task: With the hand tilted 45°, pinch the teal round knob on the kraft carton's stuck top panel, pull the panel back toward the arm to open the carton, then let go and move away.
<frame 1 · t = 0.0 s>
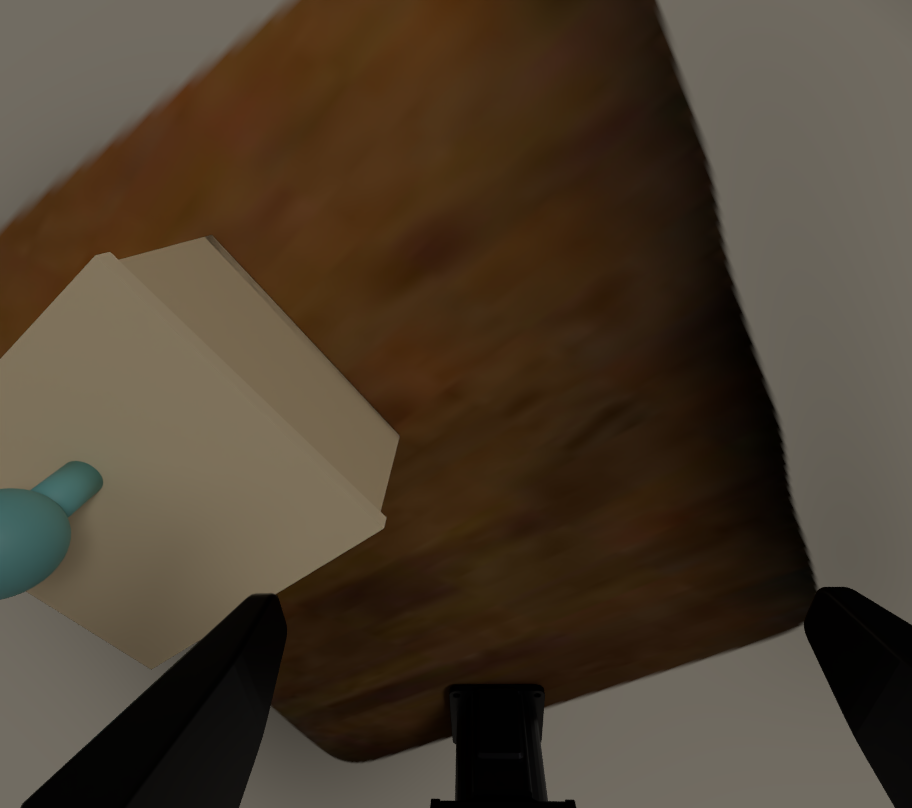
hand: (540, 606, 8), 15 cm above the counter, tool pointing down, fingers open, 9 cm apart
carton lid: (88, 555, 16), point 9 cm above the counter, slide at 0.0 cm
carton: (215, 424, 24), on the counter
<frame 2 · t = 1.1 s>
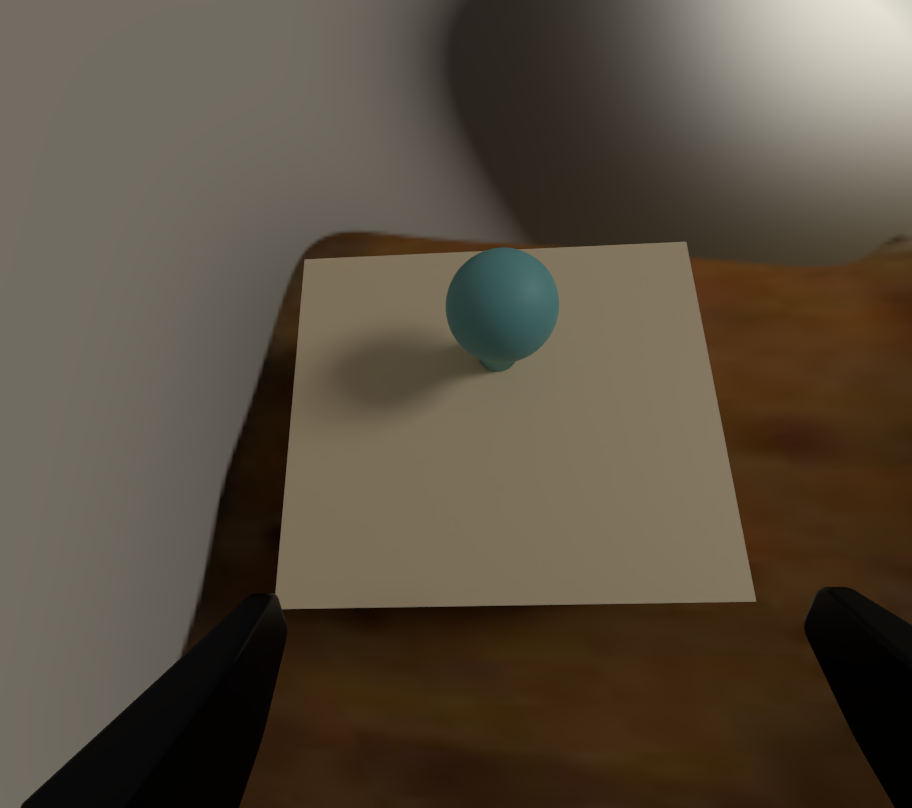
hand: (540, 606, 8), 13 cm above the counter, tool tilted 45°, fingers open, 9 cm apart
carton lid: (503, 386, 14), point 9 cm above the counter, slide at 0.0 cm
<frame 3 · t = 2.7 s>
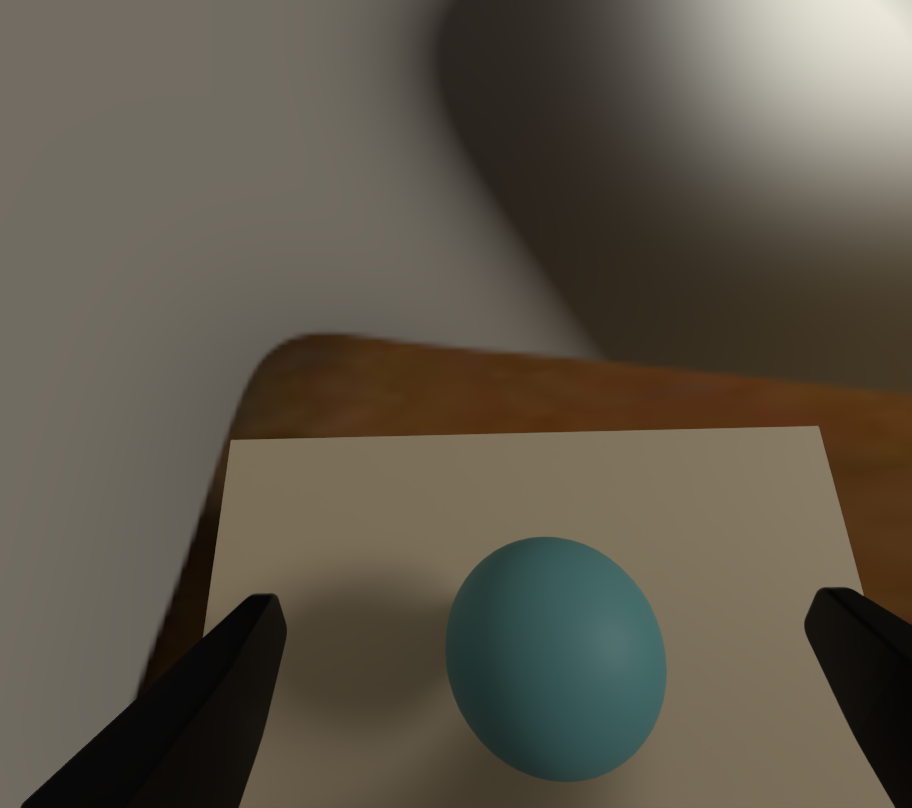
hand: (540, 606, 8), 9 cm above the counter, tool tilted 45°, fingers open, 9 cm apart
carton lid: (549, 772, 8), point 9 cm above the counter, slide at 0.0 cm
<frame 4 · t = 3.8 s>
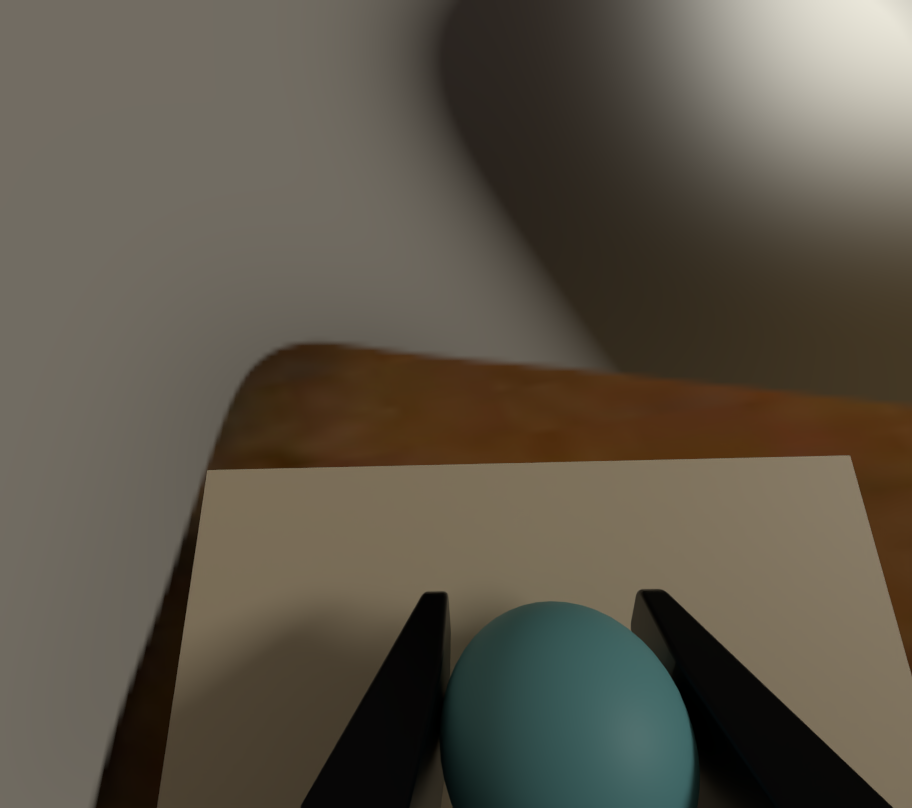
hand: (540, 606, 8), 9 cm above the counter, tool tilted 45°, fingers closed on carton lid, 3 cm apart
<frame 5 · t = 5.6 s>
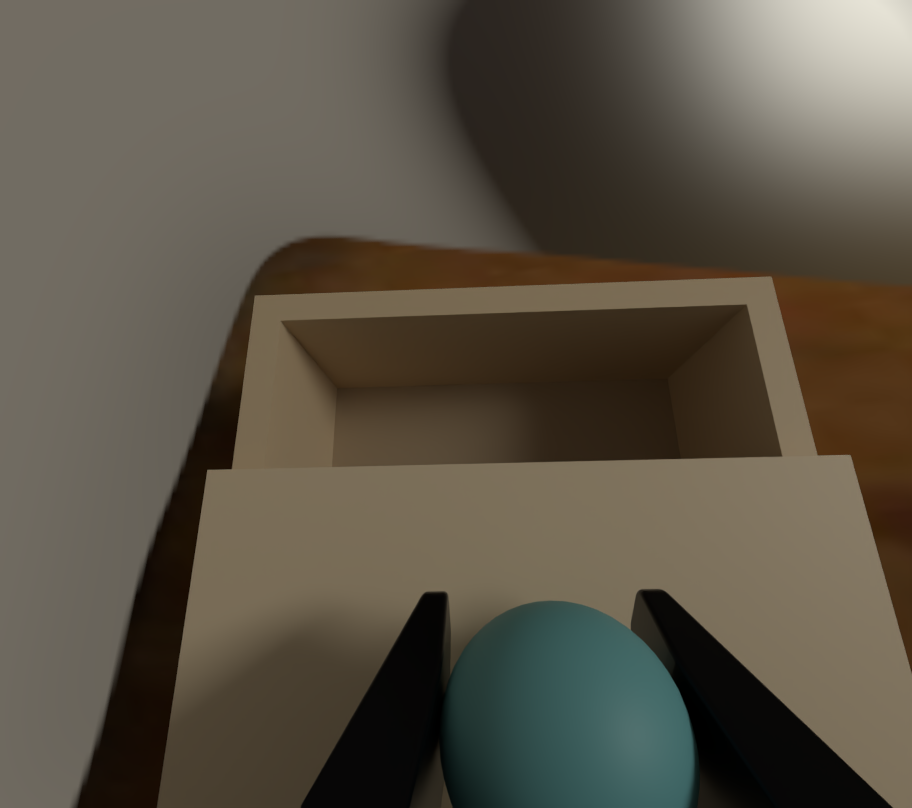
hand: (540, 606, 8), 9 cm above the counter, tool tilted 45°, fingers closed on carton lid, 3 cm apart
carton: (505, 527, 17), on the counter
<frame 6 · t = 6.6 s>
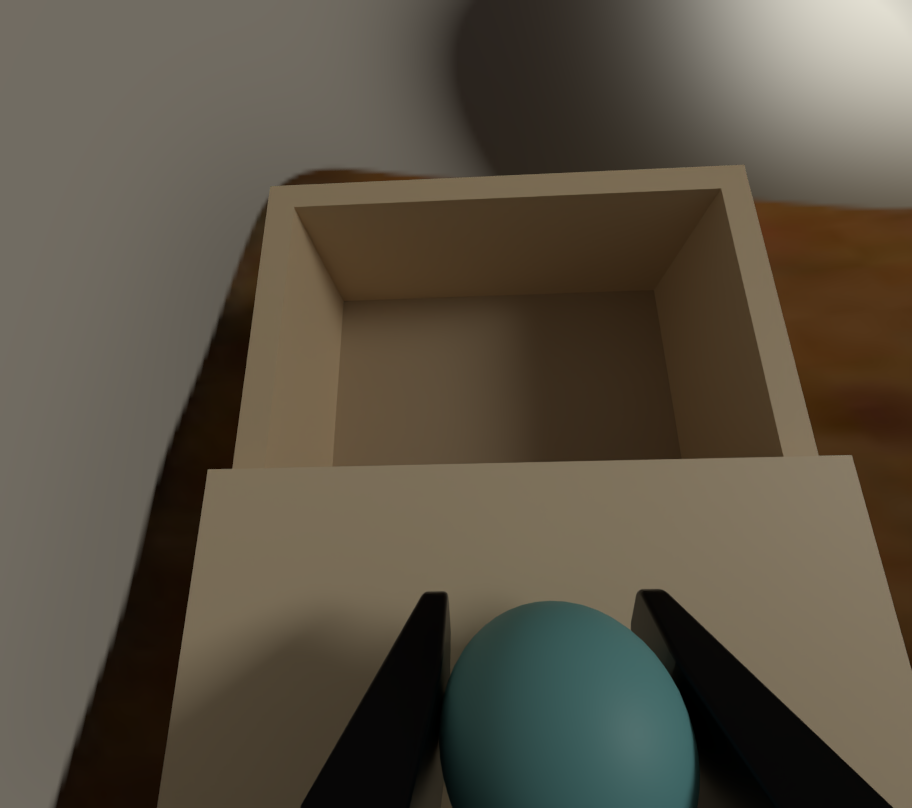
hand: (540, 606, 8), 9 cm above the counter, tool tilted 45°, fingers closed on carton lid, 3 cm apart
carton: (501, 424, 18), on the counter
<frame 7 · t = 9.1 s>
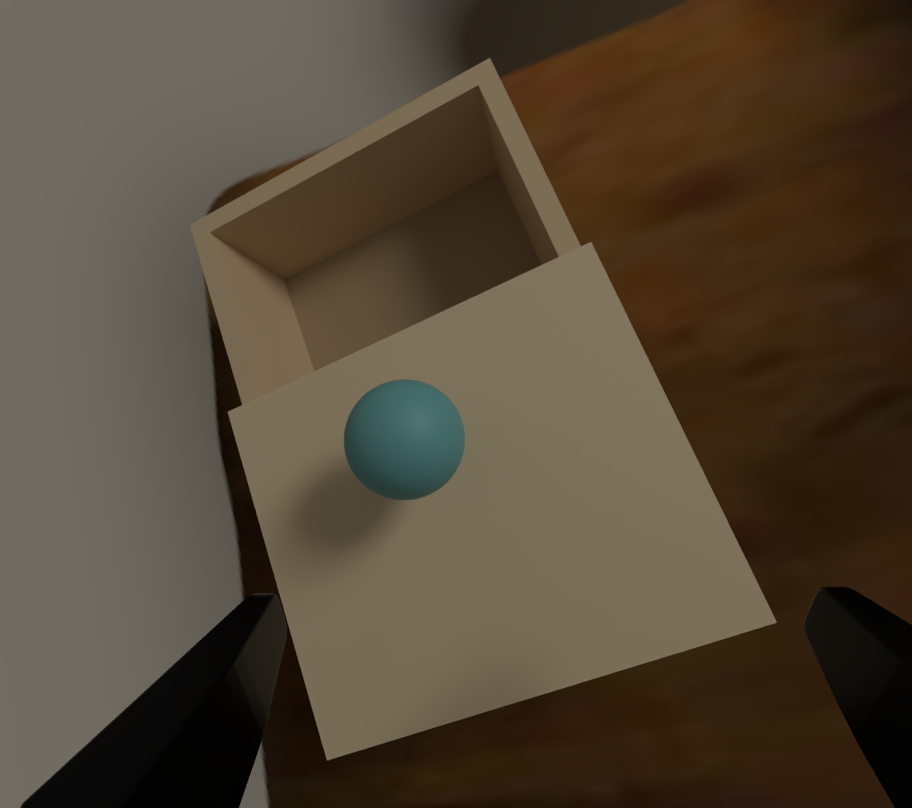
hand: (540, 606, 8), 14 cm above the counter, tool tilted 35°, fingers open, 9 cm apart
carton lid: (442, 506, 13), point 9 cm above the counter, slide at 8.9 cm
carton: (424, 320, 24), on the counter
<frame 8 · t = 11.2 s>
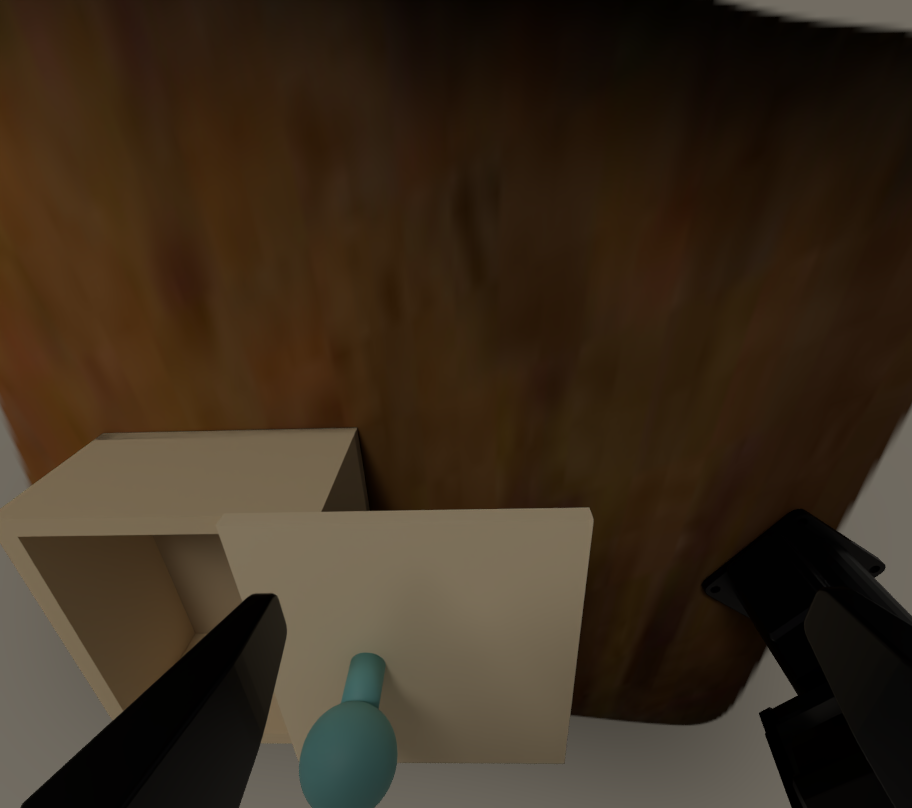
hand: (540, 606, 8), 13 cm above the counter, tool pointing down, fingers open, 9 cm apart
carton lid: (412, 721, 17), point 9 cm above the counter, slide at 8.9 cm
carton: (262, 544, 25), on the counter
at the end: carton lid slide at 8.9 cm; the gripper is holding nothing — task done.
